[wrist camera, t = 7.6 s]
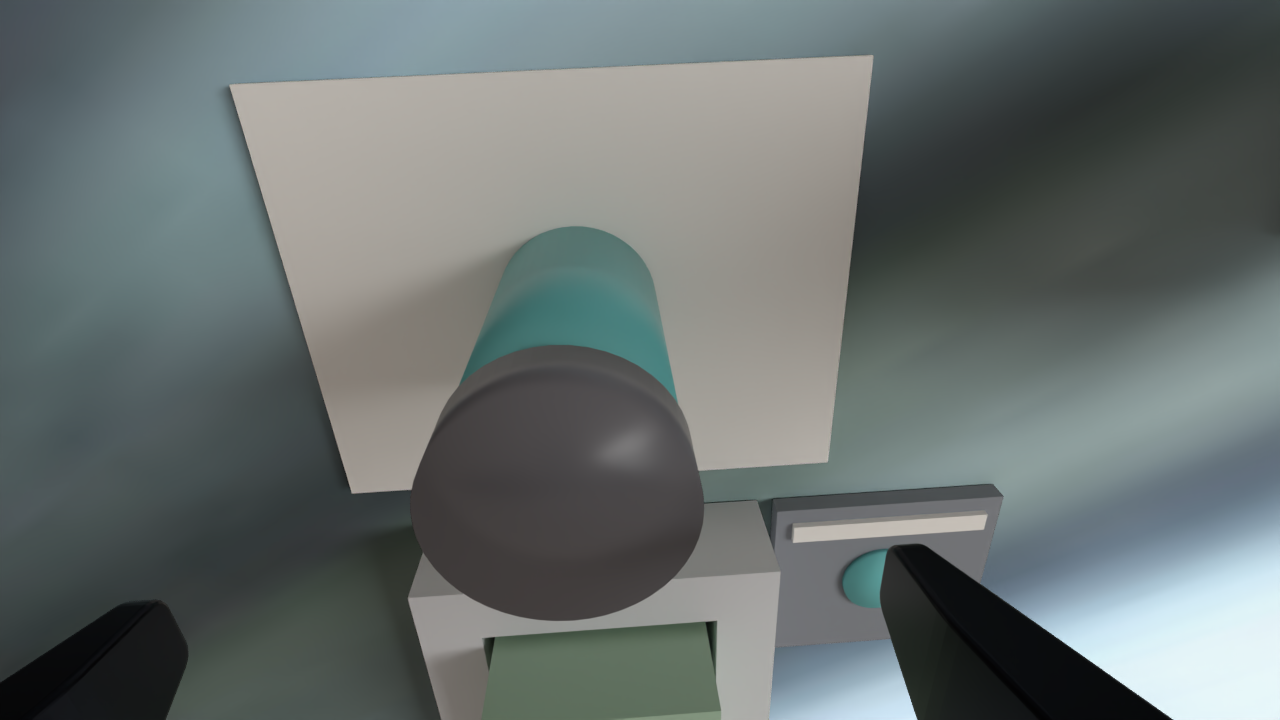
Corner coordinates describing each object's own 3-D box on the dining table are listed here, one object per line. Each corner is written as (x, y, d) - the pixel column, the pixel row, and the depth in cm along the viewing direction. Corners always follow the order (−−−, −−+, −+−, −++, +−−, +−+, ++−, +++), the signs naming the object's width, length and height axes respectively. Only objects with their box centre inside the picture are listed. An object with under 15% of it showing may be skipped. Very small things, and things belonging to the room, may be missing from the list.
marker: (657, 217, 16) (705, 382, 9) (661, 370, 18) (703, 611, 10) (483, 226, 16) (380, 401, 8) (506, 379, 18) (438, 630, 10)
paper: (868, 54, 15) (873, 55, 14) (824, 456, 20) (827, 462, 19) (235, 83, 14) (229, 84, 14) (355, 487, 19) (351, 493, 19)
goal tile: (993, 484, 21) (1007, 500, 20) (958, 619, 23) (969, 637, 23) (772, 499, 20) (779, 516, 20) (763, 633, 23) (768, 653, 22)
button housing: (756, 500, 20) (780, 571, 18) (745, 708, 25) (763, 789, 22) (433, 521, 20) (407, 597, 17) (481, 728, 25) (467, 813, 22)
